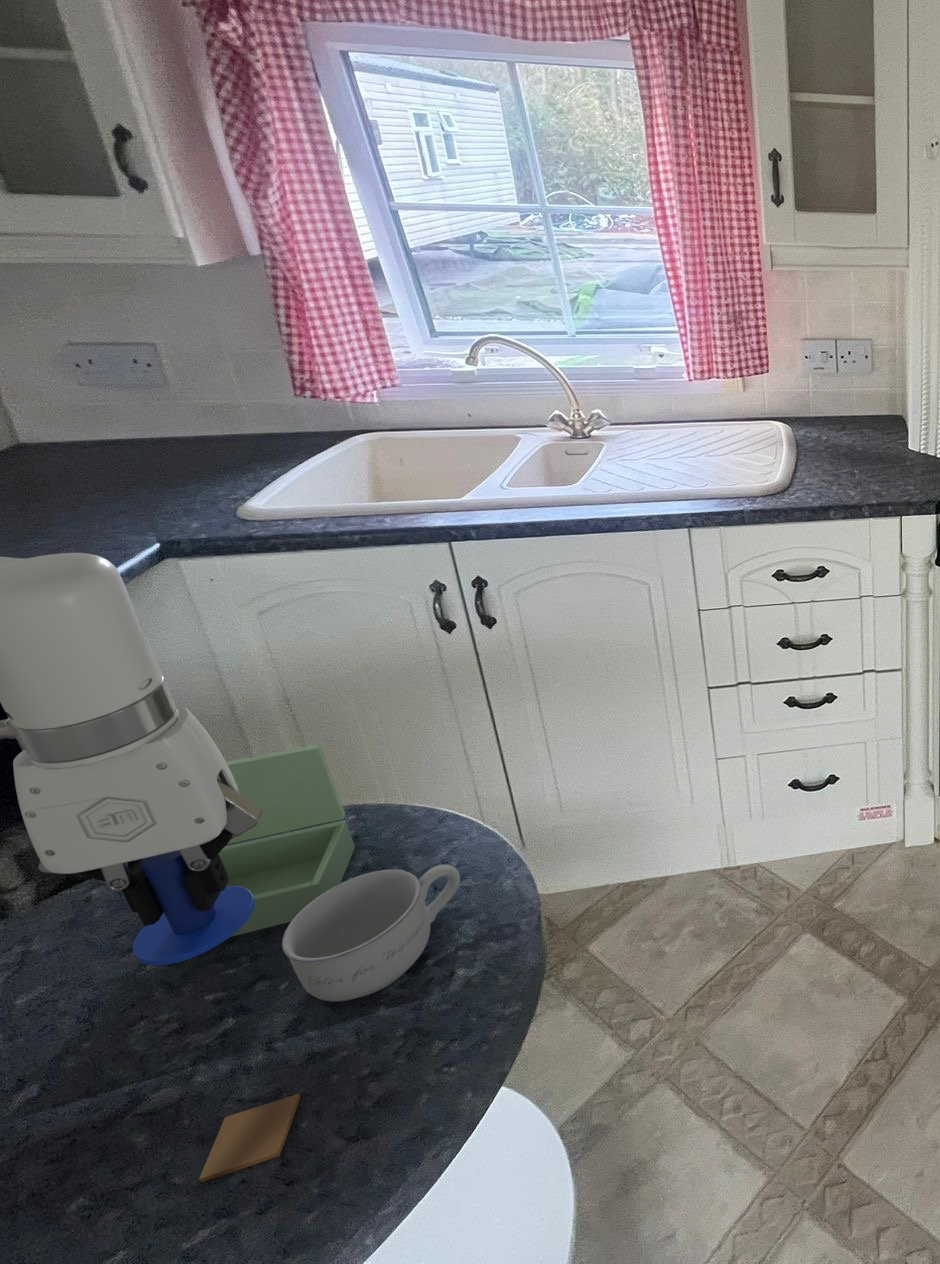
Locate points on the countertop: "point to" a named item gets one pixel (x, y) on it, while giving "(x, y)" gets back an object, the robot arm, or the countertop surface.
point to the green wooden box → (288, 870)
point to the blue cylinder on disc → (186, 915)
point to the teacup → (364, 932)
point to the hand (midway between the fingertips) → (186, 903)
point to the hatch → (287, 790)
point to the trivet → (250, 1137)
